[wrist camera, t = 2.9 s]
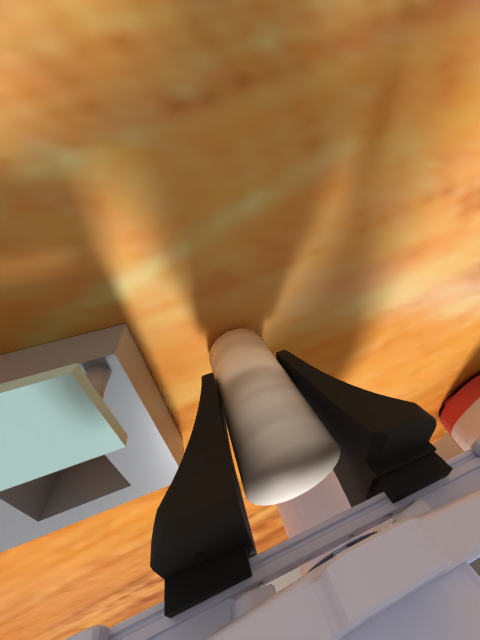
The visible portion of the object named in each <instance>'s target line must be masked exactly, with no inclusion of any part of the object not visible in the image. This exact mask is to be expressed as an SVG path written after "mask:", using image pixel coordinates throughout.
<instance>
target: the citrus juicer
mask: <svg viewBox="0 0 480 640" xmlns="http://www.w3.org/2000/svg"><path fill="white" fill-rule="evenodd" d="M444 405H445V408H444V409H443V411H442V413H441V417H440V421H441V423H442V424H443V426H444V427H445V429H446V430H447V431H448V433H449V434H450V436H451V437H452V438H453V439H455V440H456V442H457V443H458V444H459V445H460V447H461V448H462V449H463V450H464V451H467V450H469V449H471V445H472V444H473V443H474V441H475V440H477V439H478V438H479V437H480V375H478V376H477V377H475V378H474V379H472V380H471V381H470V382H468V383H467V384H466V385H465V386H463V387H462V388H461V389H460V390H459V391H458V392H457V393H456V394H455V395H453V396H451V397H449V398H448V399H447V400H446V401H445V403H444Z"/></svg>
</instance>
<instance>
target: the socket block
mask: <svg viewBox="0 0 480 640" xmlns="http://www.w3.org/2000/svg"><path fill="white" fill-rule="evenodd" d="M104 454H105V455H104ZM101 455H103V456H101ZM99 456H100V457H99ZM183 456H184V447H183V440H182V438H181V436H180V433H179V431H178V429H177V427H176V425H175V423H174V421H173V419H172V417H171V415H170V413H169V411H168V409H167V407H166V405H165V403H164V400H163V398H162V396H161V394H160V392H159V390H158V388H157V386H156V384H155V382H154V380H153V378H152V376H151V374H150V372H149V370H148V367H147V365H146V363H145V361H144V359H143V357H142V355H141V353H140V351H139V349H138V347H137V345H136V343H135V341H134V339H133V337H132V334H131V332H130V330H129V328H128V326H127V324H122V325H118V326H114V327H110V328H106V329H102V330H98V331H94V332H90V333H86V334H82V335H78V336H74V337H70V338H66V339H62V340H58V341H54V342H50V343H46V344H42V345H38V346H34V347H30V348H26V349H22V350H18V351H14V352H10V353H6V354H2V355H0V553H1V552H4V551H6V550H8V549H11V548H13V547H16V546H18V545H21V544H23V543H26V542H28V541H31V540H33V539H36V538H38V537H41V536H43V535H46V534H48V533H51V532H53V531H56V530H58V529H61V528H63V527H66V526H68V525H71V524H73V523H76V522H78V521H81V520H83V519H86V518H88V517H91V516H93V515H96V514H98V513H101V512H103V511H106V510H108V509H111V508H113V507H116V506H118V505H121V504H123V503H126V502H128V501H131V500H133V499H136V498H138V497H141V496H143V495H146V494H148V493H151V492H153V491H156V490H158V489H161V488H163V487H166V486H168V485H171V482H172V480H173V478H174V476H175V474H176V472H177V469H178V467H179V465H180V463H181V460H182V458H183ZM96 457H98V458H96ZM93 458H95V459H93ZM90 459H92V460H90ZM87 460H89V461H87ZM85 461H86V462H85ZM82 462H84V463H82ZM79 463H81V464H79ZM76 464H78V465H76ZM73 465H75V466H73ZM70 466H72V467H70ZM68 467H69V468H68ZM65 468H67V469H65ZM62 469H64V470H62ZM59 470H61V471H59Z"/></svg>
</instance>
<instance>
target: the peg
mask: <svg viewBox="0 0 480 640" xmlns="http://www.w3.org/2000/svg"><path fill="white" fill-rule="evenodd" d="M209 359H210V363H211V367H212V371H213V374H214V377H215V381H216V385H217V388H218V392H219V396H220V401H221V405H222V409H223V412H224V416H225V420H226V424H227V427H228V431H229V435H230V439H231V443H232V446H233V450H234V454H235V458H236V461H237V465H238V469H239V473H240V476H241V480H242V484H243V488H244V491H245V495H246V498H247V499H248V501H249V502H251V503H253V504H256V505H274V504H278V503H282V502H285V501H288V500H290V499H293V498H295V497H297V496H299V495H301V494H303V493H305V492H307V491H308V490H310V489H311V488H313V487H314V486H316V485H317V484H318V483H320V482H321V481H322V480H323V479H324V478H325V477H326V476H327V475H328V474H329V473H330V472H331V471H332V470H333V468H334V467H335V465H336V464H337V462H338V460H339V457H340V448H339V445H338V444H337V443H336V441H335V440H334V438H333V437H332V436H331V434H330V433H329V431H328V430H327V429H326V427H325V426H324V425H323V423H322V422H321V420H320V419H319V418H318V416H317V415H316V413H315V412H314V411H313V409H312V408H311V406H310V405H309V404H308V402H307V401H306V399H305V398H304V397H303V395H302V394H301V392H300V391H299V390H298V388H297V387H296V385H295V384H294V383H293V381H292V380H291V378H290V377H289V376H288V374H287V373H286V371H285V370H284V369H283V367H282V366H281V364H280V363H279V362H278V360H277V359H276V357H275V356H274V355H273V353H272V352H271V351H270V349H269V348H268V346H267V345H266V344H265V342H264V341H263V339H262V338H261V337H260V335H259V334H258V333H256V332H255V331H253V330H250V329H245V328H240V329H234V330H231V331H228V332H226V333H224V334H223V335H221V336H220V337H219V338H218V339H217V340H216V341H215V342H214V344H213V345H212V347H211V350H210V355H209Z"/></svg>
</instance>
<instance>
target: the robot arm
mask: <svg viewBox="0 0 480 640" xmlns="http://www.w3.org/2000/svg"><path fill="white" fill-rule="evenodd" d="M276 356H277V360H278V362H279V363H280V364H281V366H282V367H283V369H284V370H285V371H286V373H287V374H288V376H289V377H290V378H291V380H292V381H293V383H294V384H295V385H296V387H297V388H298V390H299V391H300V392H301V394H302V395H303V397H304V398H305V399H306V401H307V402H308V404H309V405H310V406H311V408H312V409H313V411H314V412H315V413H316V415H317V416H318V418H319V419H320V420H321V422H322V423H323V425H324V426H325V427H326V429H327V430H328V431H329V433H330V434H331V436H332V437H333V438H334V440H335V441H336V443H337V444H338V445H339V448H340V457H339V460H338V462H337V464H336V465H335V467H334V468H333V470H332V471H331V472H330V473H329V474H328V475H327V476H326V477H325V478H324V479H323V480H322V481H321V482H320V483H318V484H317V485H316V486H314V487H313V488H311V489H310V490H308V491H307V492H305V493H303V494H301V495H299V496H297V497H295V498H293V499H290V500H288V501H285V502H282V503H278V504H276V505H277V508H278V511H279V514H280V516H281V519H282V522H283V525H284V527H285V530H286V533H287V536H288V538H289V539H287V540H285V541H283V542H281V543H279V544H277V545H275V546H273V547H271V548H269V549H267V550H265V551H263V552H261V553H259V554H257V552H256V548H255V544H254V540H253V536H252V533H251V529H250V525H249V521H248V517H247V513H246V510H245V506H244V502H243V498H242V494H241V490H240V486H239V482H238V479H237V475H236V471H235V467H234V463H233V459H232V455H231V450H230V444H229V438H228V432H227V426H226V420H225V416H224V412H223V409H222V405H221V401H220V396H219V392H218V388H217V385H216V381H215V377H214V374H213V373H210V374H207V375H203V376H202V387H201V396H200V401H199V407H198V411H197V416H196V420H195V423H194V427H193V430H192V433H191V437H190V440H189V442H188V445H187V448H186V450H185V453H184V456H183V458H182V460H181V463H180V465H179V467H178V469H177V472H176V474H175V476H174V478H173V480H172V482H171V485H170V487H169V488H168V490H167V492H166V494H165V496H164V498H163V500H162V502H161V504H160V506H159V507H158V509H157V513H156V517H155V522H154V527H153V534H152V541H151V559H150V567H151V568H152V570H153V571H154V572H156V573H157V574H158V575H160V576H161V577H162V578H163V579H165V596H164V601H162V602H160V603H158V604H156V605H154V606H152V607H150V608H148V609H146V610H144V611H142V612H140V613H138V614H136V615H134V616H132V617H130V618H128V619H126V620H124V621H122V622H120V623H118V624H116V625H114V626H112V627H110V628H108V627H107V626H106V625H96V626H92V627H90V628H87V629H85V630H83V631H81V632H79V633H77V634H75V635H73V636H71V637H69V638H67V639H65V640H480V577H479V576H478V575H477V573H476V572H475V571H474V570H473V569H472V567H471V566H470V565H469V564H470V563H471V562H473V561H474V560H476V559H477V558H479V557H480V437H479V438H478V439H477V440H475V441H474V443H473V444H472V445H471V449H469V450H467V451H465V452H463V453H461V454H459V455H457V456H455V457H453V458H451V459H449V460H447V461H444V460H443V459H442V458H441V457H440V456H438V455H437V454H436V453H435V452H434V451H436V448H435V447H434V446H433V445H432V444H431V443H430V442H429V440H430V438H431V436H432V434H433V432H434V430H435V428H436V420H435V418H434V417H432V416H431V415H430V414H429V413H427V412H426V411H425V410H423V409H422V408H421V407H420V406H418V405H417V404H416V403H413V402H408V401H404V400H399V399H395V398H391V397H387V396H384V395H380V394H376V393H373V392H370V391H367V390H364V389H361V388H358V387H355V386H353V385H350V384H348V383H345V382H343V381H341V380H338V379H336V378H334V377H332V376H329V375H327V374H326V373H324V372H322V371H320V370H318V369H316V368H314V367H313V366H311V365H309V364H307V363H306V362H304V361H302V360H301V359H299V358H298V357H296V356H294V355H293V354H291V353H290V352H288V351H286V350H283V351H280V352H277V353H276ZM396 515H397V516H396ZM394 516H396V517H394ZM392 517H394V518H393V524H392V525H390V526H388V527H387V528H385V529H383V530H381V529H380V527H379V526H378V525H379V524H381V523H383V522H385V521H386V520H388V519H390V518H392ZM297 567H299V569H300V572H301V574H302V577H301V578H299V579H298V580H296V581H294V582H293V583H291V584H290V585H288V586H287V587H285V588H283V589H282V590H280V591H279V592H277V593H276V591H275V587H274V585H272V584H269V585H266V586H263V585H265V584H267V583H269V582H271V581H273V580H275V579H277V578H278V577H280V576H282V575H284V574H286V573H288V572H290V571H292V570H294V569H296V568H297ZM261 586H263V587H261Z"/></svg>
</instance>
